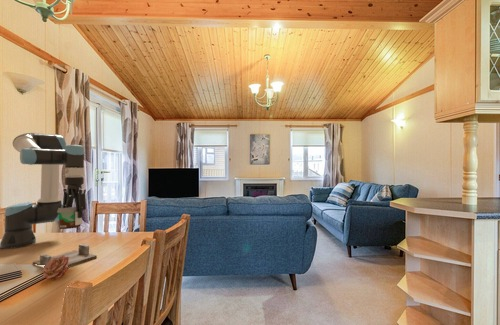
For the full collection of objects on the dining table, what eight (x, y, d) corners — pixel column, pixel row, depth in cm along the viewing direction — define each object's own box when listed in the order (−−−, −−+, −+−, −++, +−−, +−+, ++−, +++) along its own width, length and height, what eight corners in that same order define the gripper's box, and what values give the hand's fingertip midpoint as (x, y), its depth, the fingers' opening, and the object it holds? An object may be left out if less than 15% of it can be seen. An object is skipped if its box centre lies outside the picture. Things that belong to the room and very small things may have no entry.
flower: (57, 267, 107) (46, 255, 102) (79, 262, 108) (69, 250, 103) (46, 288, 99) (34, 277, 94) (70, 283, 100) (59, 271, 95)
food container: (68, 230, 115) (68, 208, 115) (56, 229, 116) (57, 208, 116) (89, 224, 127) (90, 204, 127) (79, 223, 128) (79, 204, 128)
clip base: (32, 264, 114) (32, 253, 114) (74, 252, 130) (74, 242, 130) (55, 271, 106) (55, 259, 106) (96, 257, 122) (96, 247, 122)
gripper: (54, 176, 122) (53, 223, 122) (79, 177, 114) (78, 227, 114) (70, 176, 129) (69, 220, 129) (95, 176, 121) (94, 224, 121)
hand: (73, 223), depth 121 cm, fingers closed on food container, 7 cm apart
